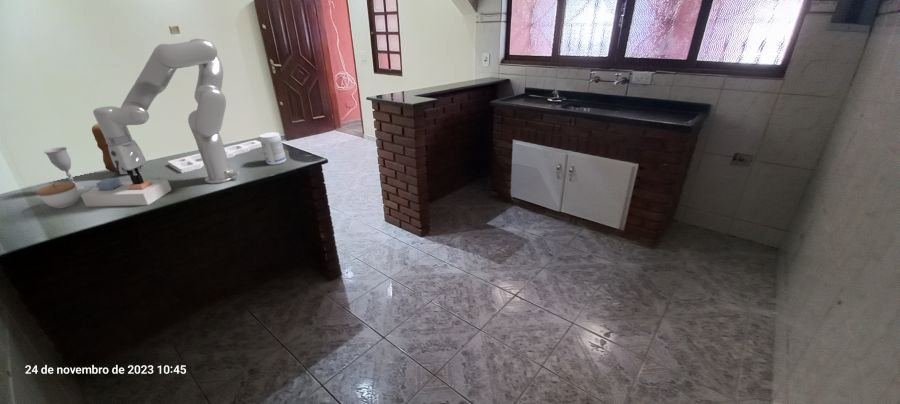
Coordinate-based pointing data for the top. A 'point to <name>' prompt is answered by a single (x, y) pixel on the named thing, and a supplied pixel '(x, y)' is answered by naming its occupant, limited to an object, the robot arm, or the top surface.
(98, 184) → the slate-blue key
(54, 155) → the chalice
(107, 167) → the butternut squash
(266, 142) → the supplement tub
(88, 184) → the top surface
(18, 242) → the top surface
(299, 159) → the top surface
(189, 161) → the holder
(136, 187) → the terracotta key
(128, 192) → the key panel
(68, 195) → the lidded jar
